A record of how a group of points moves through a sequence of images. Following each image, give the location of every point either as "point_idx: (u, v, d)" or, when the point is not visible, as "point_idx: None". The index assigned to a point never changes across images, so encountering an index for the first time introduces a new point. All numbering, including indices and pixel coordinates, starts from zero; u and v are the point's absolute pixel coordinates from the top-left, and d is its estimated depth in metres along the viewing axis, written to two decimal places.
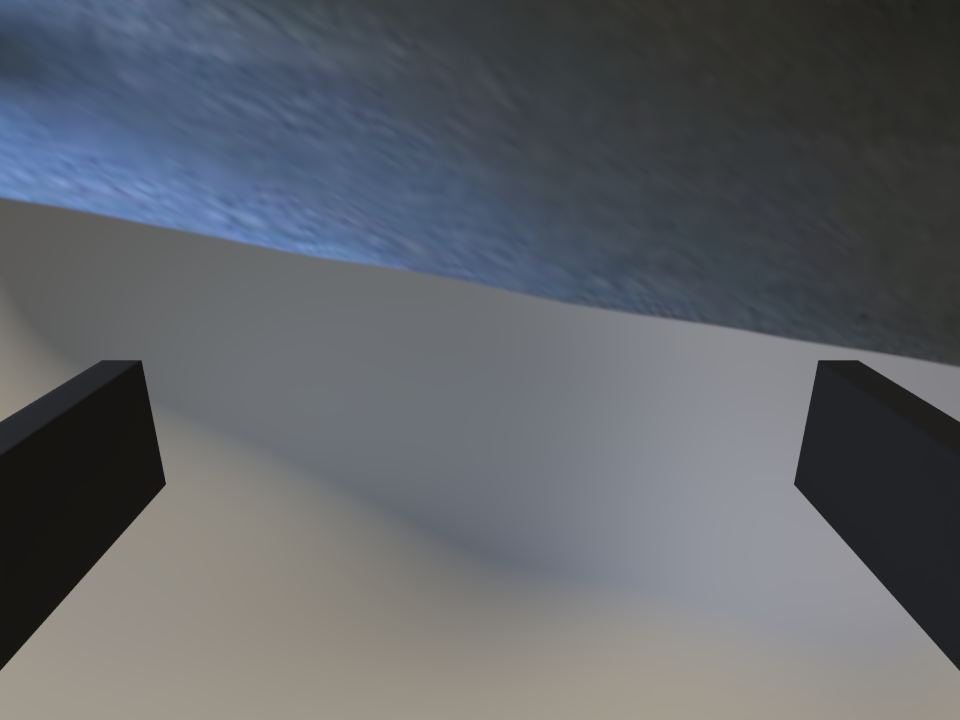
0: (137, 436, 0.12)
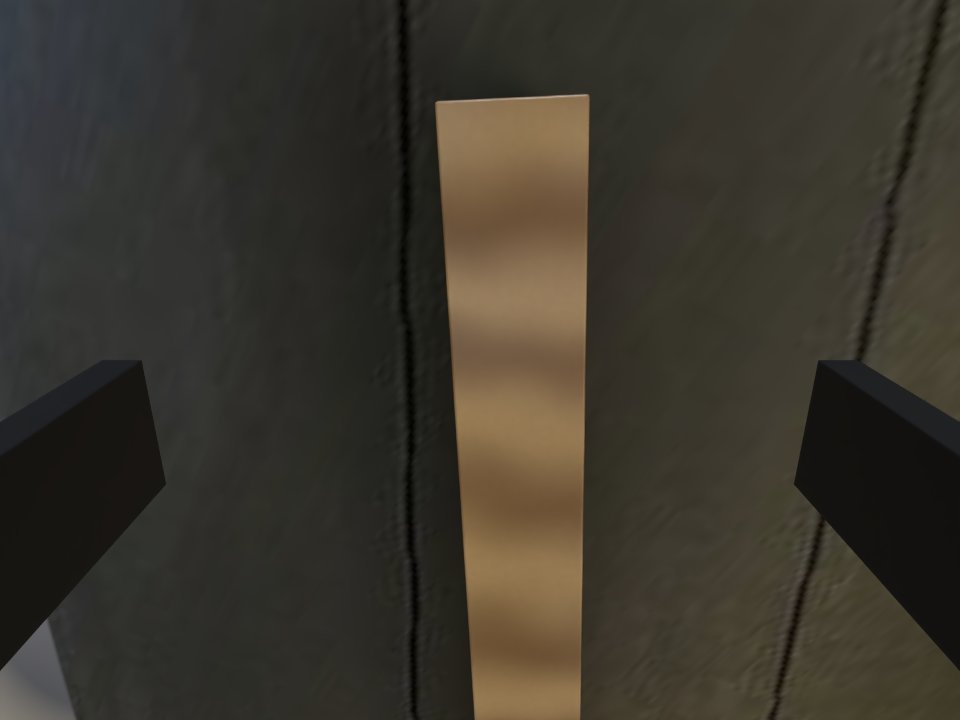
0: (137, 436, 0.12)
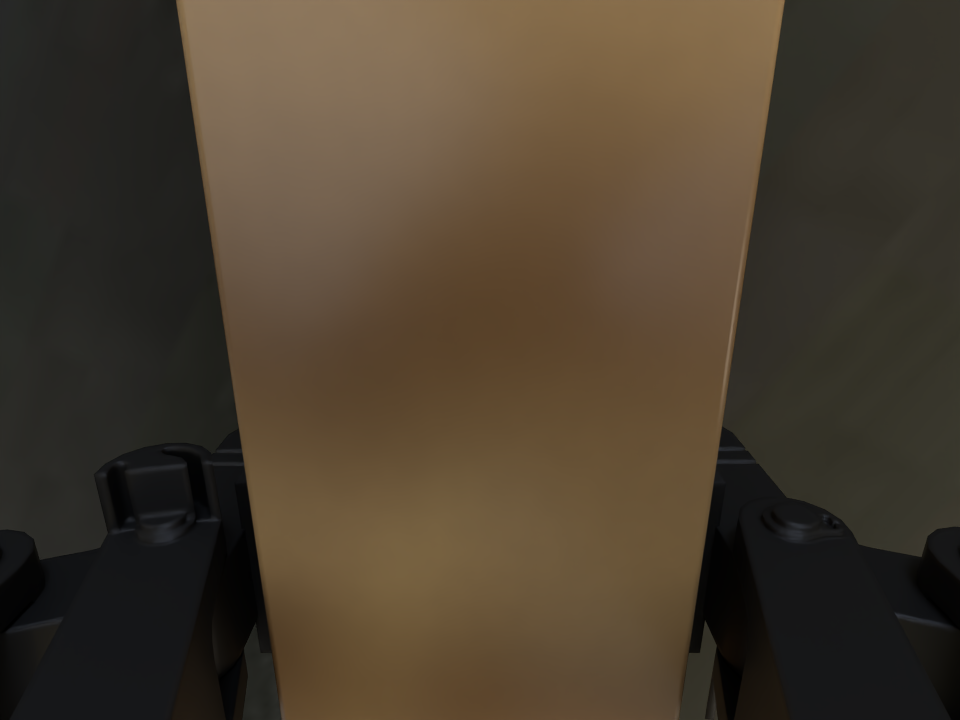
0: None
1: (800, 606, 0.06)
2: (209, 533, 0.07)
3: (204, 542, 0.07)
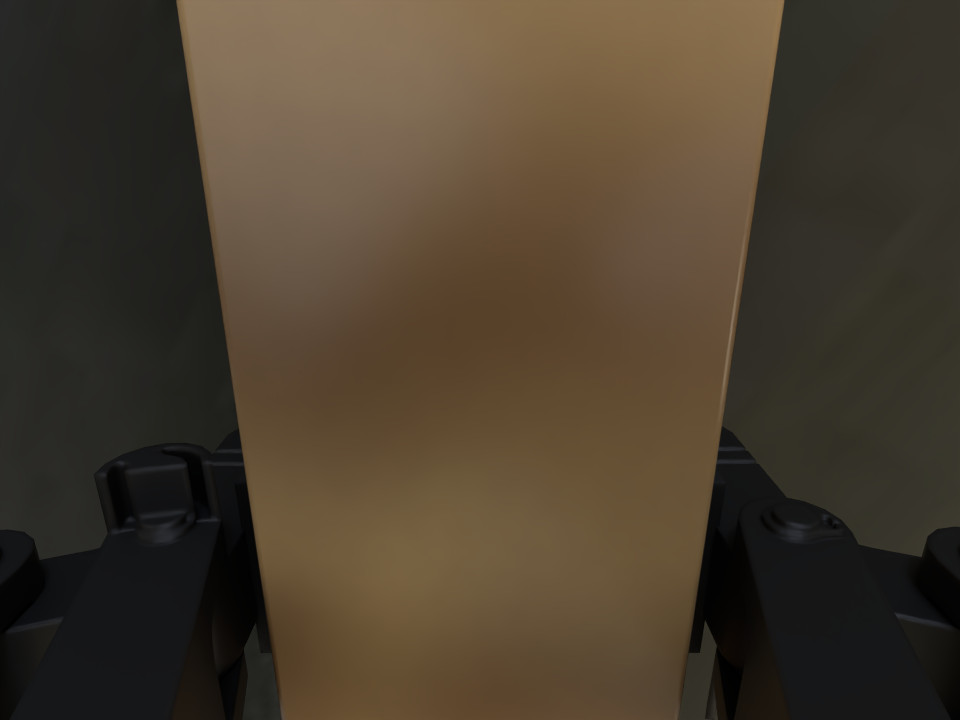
0: None
1: (800, 606, 0.06)
2: (209, 533, 0.07)
3: (204, 542, 0.07)
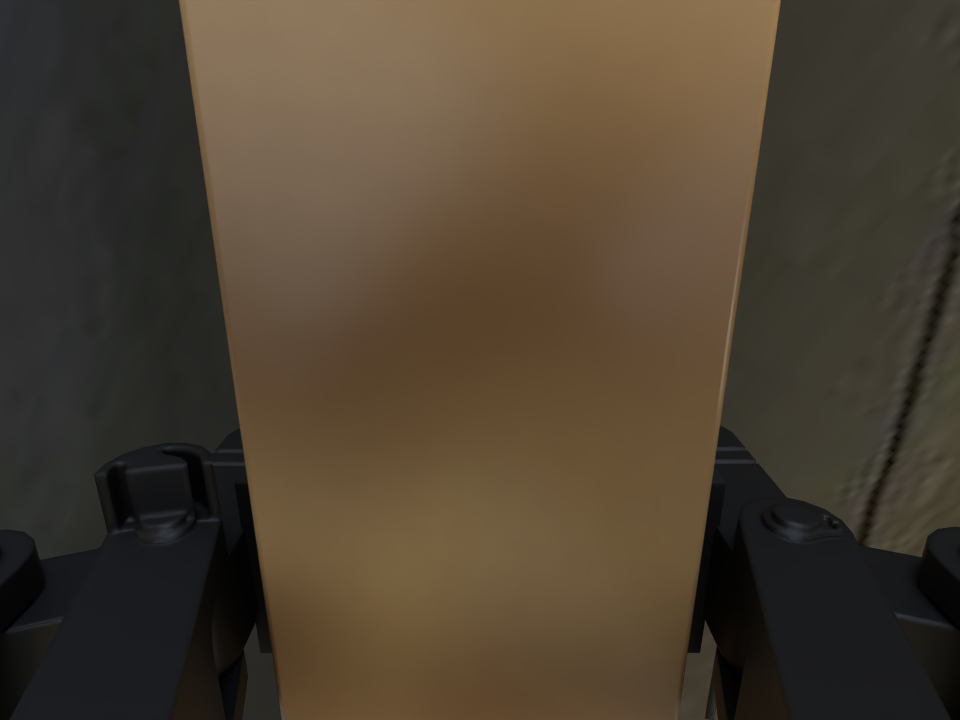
0: None
1: (800, 606, 0.06)
2: (209, 533, 0.07)
3: (204, 542, 0.07)
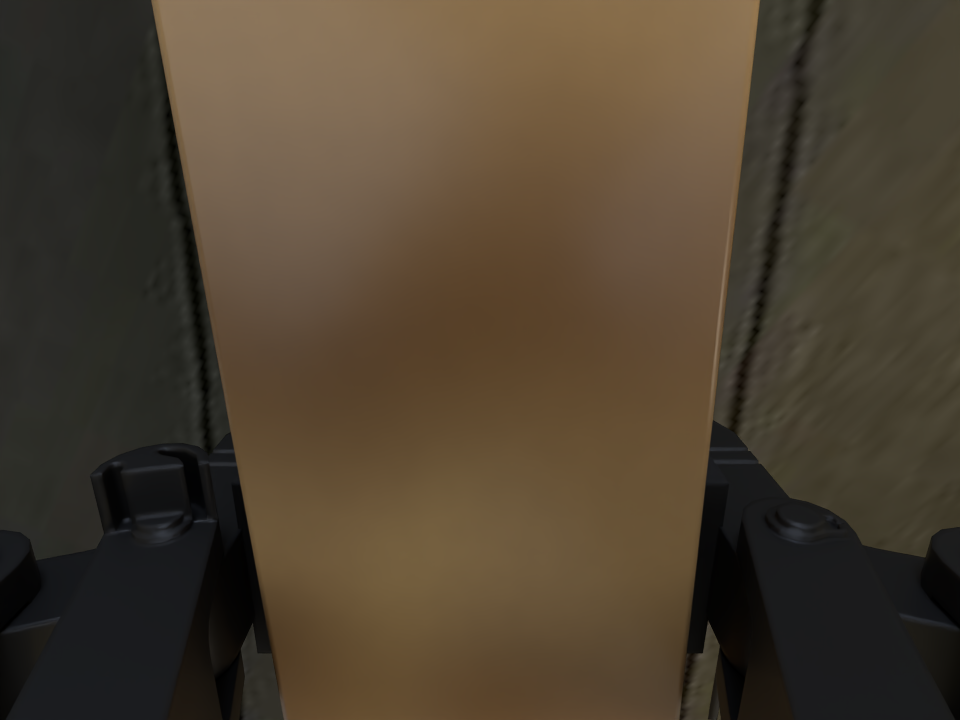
0: None
1: (804, 607, 0.06)
2: (206, 534, 0.07)
3: (201, 543, 0.07)
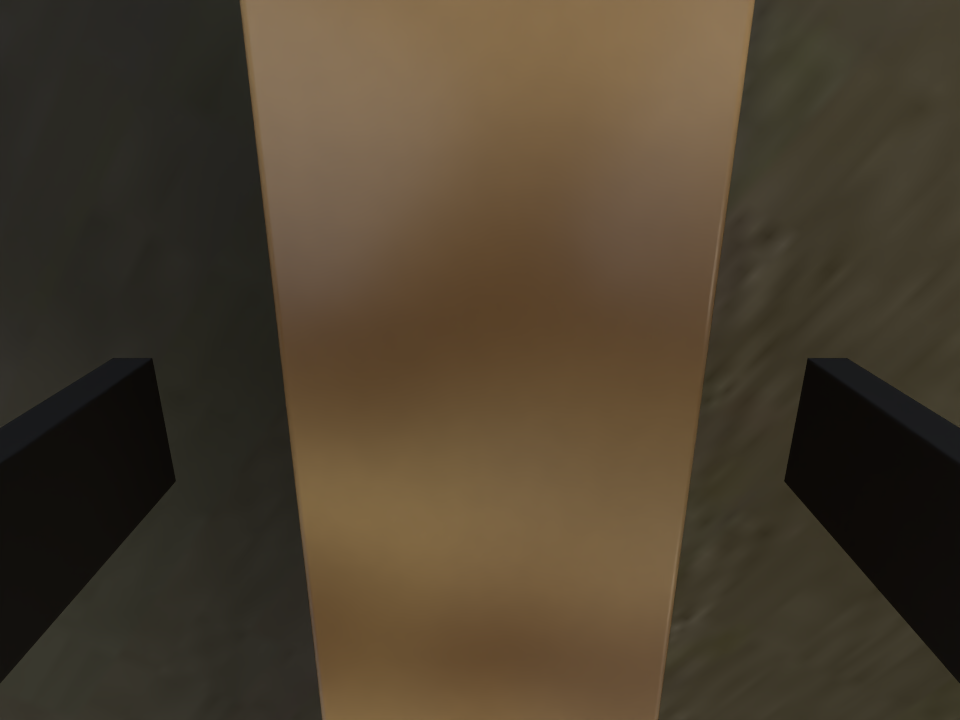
0: (148, 433, 0.12)
1: None
2: None
3: None
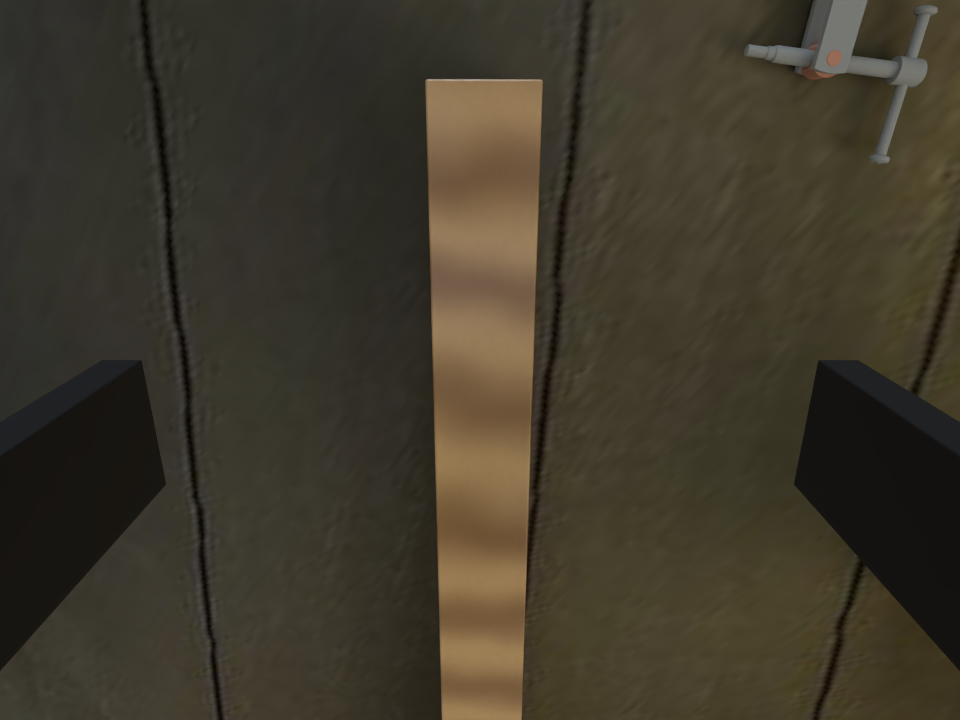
0: (137, 436, 0.12)
1: None
2: None
3: None
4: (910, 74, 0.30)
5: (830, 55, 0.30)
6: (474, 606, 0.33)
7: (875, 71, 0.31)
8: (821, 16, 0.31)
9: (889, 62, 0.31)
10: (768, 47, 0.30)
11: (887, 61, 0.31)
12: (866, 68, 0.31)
